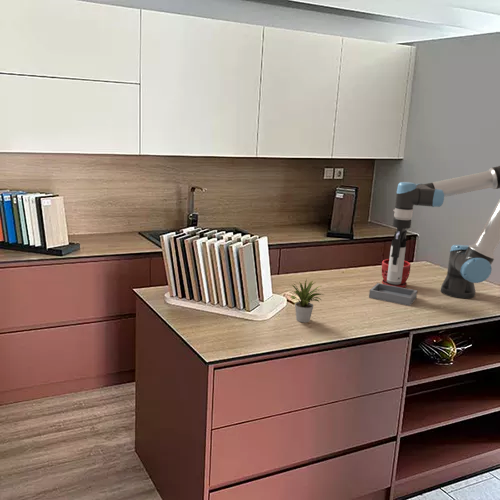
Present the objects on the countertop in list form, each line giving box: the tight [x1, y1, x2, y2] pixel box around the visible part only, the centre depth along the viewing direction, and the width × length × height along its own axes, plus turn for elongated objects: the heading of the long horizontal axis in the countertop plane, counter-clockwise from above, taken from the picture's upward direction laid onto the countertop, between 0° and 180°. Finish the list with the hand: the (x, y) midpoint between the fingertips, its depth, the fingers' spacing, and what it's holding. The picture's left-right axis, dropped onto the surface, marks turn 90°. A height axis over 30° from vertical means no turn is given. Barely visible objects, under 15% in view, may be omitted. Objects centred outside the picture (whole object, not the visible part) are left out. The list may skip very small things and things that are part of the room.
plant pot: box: [381, 258, 412, 288], centre depth 266 cm, size 13×13×12 cm
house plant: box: [289, 278, 325, 323], centre depth 214 cm, size 14×14×16 cm
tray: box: [368, 282, 418, 307], centre depth 250 cm, size 18×13×4 cm
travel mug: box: [387, 238, 408, 285], centre depth 246 cm, size 6×7×20 cm
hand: (395, 269), depth 247 cm, fingers closed on travel mug, 6 cm apart
